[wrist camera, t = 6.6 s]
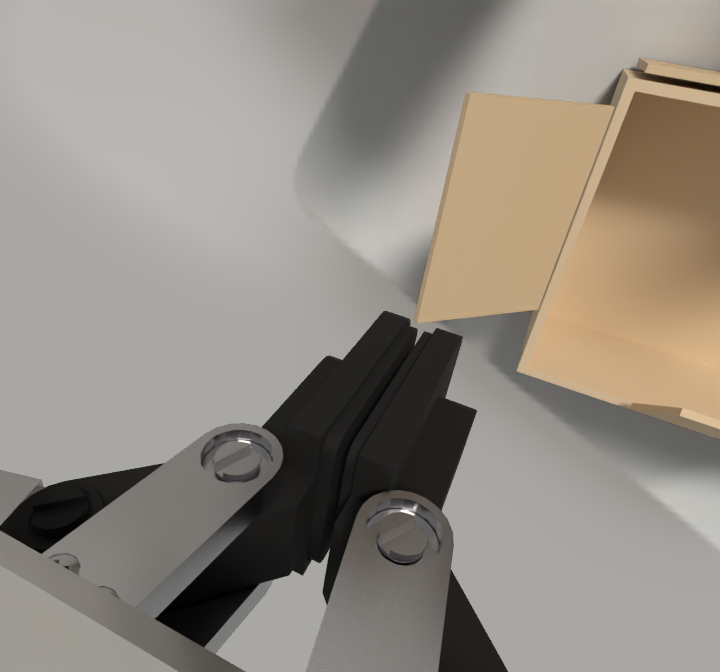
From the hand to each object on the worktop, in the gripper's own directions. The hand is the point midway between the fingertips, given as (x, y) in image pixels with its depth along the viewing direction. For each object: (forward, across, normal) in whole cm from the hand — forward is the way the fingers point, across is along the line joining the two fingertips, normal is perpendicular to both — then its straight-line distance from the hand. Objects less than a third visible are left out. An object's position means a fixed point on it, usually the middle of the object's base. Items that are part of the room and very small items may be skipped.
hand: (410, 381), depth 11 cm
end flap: (+15, -3, 0) cm, 16 cm away
